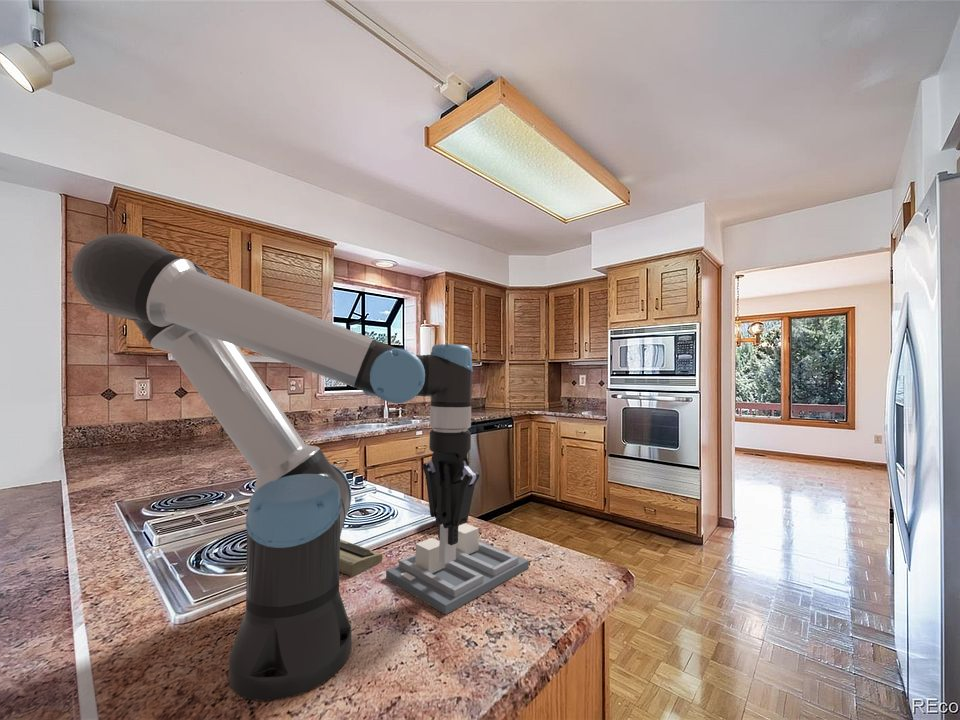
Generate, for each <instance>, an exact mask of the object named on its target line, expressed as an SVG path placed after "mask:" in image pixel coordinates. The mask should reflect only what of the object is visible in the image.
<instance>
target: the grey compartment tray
mask: <svg viewBox="0 0 960 720" xmlns="http://www.w3.org/2000/svg"><path fill="white" fill-rule="evenodd" d="M415 556H416V553H414V554H411V555H409V556H406V557H403V558H401V559H399V560H398V564H397V565H395V566H393V567H390V568H387V569H386V570H385V579H387V581H390V582H392V583H393V584H395V585H397V586H398V587H400V588H402V589H403V590H405V591H406V592H408V593H409V594H411V595H413V596H415V597H417V598H418V599H420V600H421V601H422V602H424V603H426V604H427V605H429V606H430V607H432V608H434V609H436V610H437V611H439V612H440V613H442V614H443V615H448V614H450V613H452V612H453V611H456V610H457V609H459V608H460V607H462V606H464V605H466V604H467V603H469V602H471V601H473V600H475V599H476V598H479V597H481V596H482V595H484V594H485V593H487V592H489V591H490V590H493V589H494V588H496V587H498V586H499V585H501V584H503V583H505V582H506V581H508V580H510V579H512V578H514V577H515V576H517V575H519V574H521V573H523V572H524V571H525V570H528V569H529V567H530V566H529V565H530V564H529V563H530V561H529V559H526V558H523V557H522V556H518V555H516V554H514V553H511V552H509V551H507V550H506V551H505V550H503V549H501V548H498V547H496V546H493V545H491V544H489V543H485V542H484V541H480V540H479V550H478V551H475V552H473V553H471V554H469V555H468V554H466V553H463V552H461V551H459V550H456V559H455V560H453V561H451V562H448V563H446V564H445V568H443V569H441V570H439V571H437V572H434V573H432V574H431V573H429V572H428V571H426V570H424V569H422V568H420V567H418V566H416V565H415Z"/></svg>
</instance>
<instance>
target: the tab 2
mask: <svg viewBox="0 0 960 720" xmlns="http://www.w3.org/2000/svg"><path fill="white" fill-rule="evenodd" d="M479 531H480V528H479V527H476V526H474V525H471V524H469V523H464V524H461V525H459V526H458V542H457V543H456V550H459V551H461V552H463V553H466V554H468V555H469V554H471V553H473V552H475V551H478V550H479V541H480V540H479V538H480V537H479V535H480V533H479Z"/></svg>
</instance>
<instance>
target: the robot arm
mask: <svg viewBox="0 0 960 720" xmlns="http://www.w3.org/2000/svg"><path fill="white" fill-rule="evenodd" d="M71 276H72V281H73V284H74V286H75V289H76V290H77V291H78V293H79V294H80V296H81V297H82V298H83V299H84V300H85V301H86V302H87V303H88V304H89V305H91V306H93V307H94V308H95V309H97V310H99V311H101V312H103V313H105V314H107V315H110V316H114V317H117V318H121V319H125V320H130V321H133V323H135V325H136V326H137V328H138V330H139V331H140V332H141V334H142V335H143V337H144V338H145V339H146V340H147V342H148V344H149V345H150V346H151V347H152V348H153V349H155V350H160V351H165V352H168V353H170V355H171V356H172V357H173V359H174V360H175V361H176V363H177V365H178V366H179V368H180V369H181V370H182V371H183V373H184V374H185V376H186V377H187V379H188V380H189V382H190V384H191V385H192V386H193V387H194V389H195V390H196V391H197V393H198V395H200V397H201V399H202V400H203V401H204V403H205V404H206V406H207V407H208V409H209V410H210V411H211V413H212V415H213V416H214V417H215V418H216V420H217V421H218V422H219V424H220V426H221V427H222V429H223V431H225V433H226V434H227V436H228V437H229V439H230V440H231V441H232V443H233V444H234V445H235V447H236V448H237V450H238V451H239V452H240V454H241V455H242V457H243V458H244V459H245V461H246V463H247V465H249V467H250V468H251V469H252V471H253V472H254V473H255V475H256V480H255V485H254V488H253V491H254V492H253V494H252V496H250V499H249V502H248V506H247V507H248V508H247V513H246V516H245V528H246V577H245V578H246V579H245V582H246V583H245V586H246V587H245V588H246V589H245V612H244V615H243V617H242V621H241V622H240V626H239V629H238V631H237V635H236V637H235V639H234V644H233V645H232V649H231V652H230V655H229V660H228V683H229V685H230V687H231V689H232V691H234V692H235V693H236V694H237V695H239V696H241V697H243V698H245V699H249V700H252V701H253V700H254V701H277V700H283V699H288V698H291V697H295V696H298V695H301V694H303V693H306V692H308V691H311V690H313V689H315V688H317V687H319V686H320V685H322V684H323V683H325V682H327V681H328V680H329V679H331V678H332V677H334V676H335V674H336V673H338V672H339V671H340V670H341V669H342V667H344V665H345V663H346V662H347V661H348V659H349V657H350V655H351V651H352V635H353V633H352V626H351V622H350V620H349V617H348V614H347V610H346V608H345V605H344V602H343V599H342V596H341V593H340V573H339V568H340V539H341V535H342V531H343V527H344V524H345V522H346V518H347V516H348V514H349V511H350V507H351V502H352V490H351V485H350V482H349V480H348V477H347V476H346V475H345V473H344V472H343V471H342V470H341V469H340V468H339V467H337V466H336V465H334V464H332V463H330V460H329V459H328V458H327V457H326V455H325V454H324V452H323V451H322V450H321V448H320V446H315V445H311V444H309V445H308V444H307V443H305V442H304V440H303V439H302V437H301V436H300V435H299V433H298V431H297V429H296V428H295V427H294V426H293V424H292V422H291V421H290V420H289V418H288V416H287V415H286V413H285V412H284V410H283V409H282V407H280V405H279V403H278V402H277V401H276V400H275V398H274V396H273V395H272V394H271V392H270V391H269V389H268V388H267V386H266V385H265V383H264V382H263V380H262V379H261V377H260V376H259V375H258V373H257V371H256V370H255V369H254V368H253V366H252V364H251V363H250V361H249V360H248V358H247V357H246V356H245V354H244V352H243V351H242V349H241V348H243V349H246V350H247V351H250V352H253V353H257V354H259V355H262V356H265V357H267V358H271V359H274V360H276V361H280V362H282V363H285V364H288V365H291V366H293V367H296V368H300V369H302V370H305V371H308V372H309V373H310V372H311V373H313V374H316V375H319V376H321V377H324V378H327V379H330V380H333V381H335V382H339V383H341V384H345V385H347V386H351V387H353V388H356V389H358V390H360V391H362V392H363V394H364V395H366V396H371V397H378V398H380V399H381V400H383V401H385V402H388V403H393V404H403V403H406V402H408V401H411V400H413V399H415V398H416V397H430V407H429V409H430V410H429V427H430V428H431V429H432V430H430V432H429V451H431V452H432V455H431V460H429V461H428V462H424V463H422V469H423V472H424V475H425V482H426V490H427V497H428V498H427V499H428V506H429V507H428V508H429V514H430V515H429V516H430V517H431V518H435V520H436V519H437V522H438V527H437V538H438V539H437V540H438V541H440V544H439V562H441V563H443V564H446V563H448V562H451V561H453V560H455V559H456V543H457V542H458V526H460V525H462V524H465V523H466V524H468V520H469V516H470V511H471V506H472V500H473V497H474V496H473V495H474V491H475V486H476V484H477V482H478V480H479V478H480V474H479V472H478V471H475V472H474V471H473V470H472V469H471V468H470V461H469V458H468V454H469V451H470V450H471V448H472V447H471V444H472V443H471V442H472V432H471V431H470V430H469V429H470V428H471V427H472V392H473V391H472V390H473V389H472V388H473V372H474V369H473V354H472V353H473V352H472V349H471V348H470V346H468V345H464V344H451V343H449V344H444V343H442V344H441V343H440V344H434V345H433V346H432V347H431V352H430V354H423V355H422V354H415V353H414V352H412V351H410V350H408V349H405V348H402V347H401V348H399V347H398V348H397V347H394V346H393V345H389V344H387V343H384V342H382V341H378V340H375V339H373V338H371V337H368V336H366V335H363V334H361V333H358V332H355V331H353V330H350V329H348V328H345V327H343V326H341V325H337V324H335V323H332V322H329V321H327V320H325V319H322V318H319V317H316V316H314V315H311V314H308V313H307V312H304V311H300V310H298V309H296V308H293V307H291V306H288V305H285V304H283V303H279V302H277V301H275V300H272V299H270V298H267V297H265V296H261V295H259V294H256V293H254V292H251V291H249V290H246V289H244V288H242V287H241V288H240V287H238V286H236V285H233V284H230V283H228V282H226V281H223V280H221V279H219V278H218V279H217V278H215V277H213V276H210V275H208V273H207V272H206V271H205V270H204V269H202V268H201V267H200V266H199V265H197V264H196V263H194V262H192V261H191V260H189V259H186V258H184V257H181V256H179V255H177V254H176V253H174V252H171V251H170V250H168V249H166V248H165V247H163V246H161V245H159V244H158V243H156V242H154V241H152V240H150V239H147V238H145V237H142V236H139V235H134V234H129V233H110V234H105V235H102V236H98V237H95V238H93V239H91V240H89V241H87V242H86V243H85V244H84V245H83V246H81V248H80V249H79V250H78V251H77V252H76V254H75V256H74V258H73V261H72V265H71ZM436 508H437V509H436Z"/></svg>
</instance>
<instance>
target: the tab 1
mask: <svg viewBox="0 0 960 720" xmlns="http://www.w3.org/2000/svg"><path fill="white" fill-rule="evenodd" d="M439 544H440V540H439V539H435V538H433V537H430V538H427V539H425V540H422V541H420V542H417V543H415V554H416V556H415V565H416V566H418V567H420V568H422V569H424V570H426V571H428V572H429V573H431V574H432V573H434V572H437V571H439V570H441V569H443V568H445V564H443V563H441V562H439Z"/></svg>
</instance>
